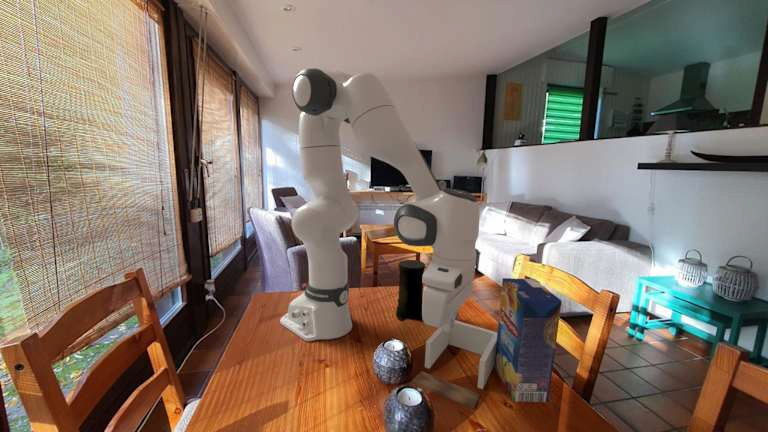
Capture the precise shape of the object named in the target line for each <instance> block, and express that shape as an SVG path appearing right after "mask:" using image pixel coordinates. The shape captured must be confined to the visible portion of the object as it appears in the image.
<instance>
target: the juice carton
mask: <svg viewBox="0 0 768 432" xmlns="http://www.w3.org/2000/svg"><path fill="white" fill-rule="evenodd" d="M499 302H500V304H499V313H498V324H497V331H496V332H497V342H496V352H495V362H494V367H493V368H494V369H495V371H496V373H497V374H498V376H499V378H500V380H501V382H502V384H503V386H504V387H505V389H506V392H507V393H508V395H509V397H510V398H511V400H512V402H517V403H518V402H522V403H530V402H531V403H549V399H550V391H551V383H552V376H553V367H554V362H555V354H556V353H555V352H556V347H557V340H558V339H557V338H558V333H559V332H558V330H559V323H560V316H561V309H562V308H561V307H562V302H563V301H562V300H561V299H560V298H559V297H558V296H556V295H555V294H554V293H552V292H551V291H550V290H549V289H548V288H547V287H546V286H544V285H542V283H540V282H539V281H538V280H537V279H535V278H508V277H502V283H501V291H500V301H499Z"/></svg>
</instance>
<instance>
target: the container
mask: <svg viewBox="0 0 768 432" xmlns="http://www.w3.org/2000/svg"><path fill="white" fill-rule="evenodd" d="M398 267H399V268H398V270H399V274H398V278H399V281H398V282H399V283H398V299H397V307H396V313H395V316H396V318H397V320H398V321H401V322H404V321H406V320H416V321H419V322H420V321H423V318H422V303H423V291H424V284H423V283H422V277H423V274H424V272H425V268H426V264H425V262H424V261H420V260H418V259H417V260H416V259H404V260H400V261H399V262H398Z"/></svg>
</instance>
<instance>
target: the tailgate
mask: <svg viewBox="0 0 768 432" xmlns="http://www.w3.org/2000/svg"><path fill="white" fill-rule="evenodd" d="M411 383H412V384H415V385H416V386H419V387H422V388H424V389H425V390H428V391H431V392H432V393H436V394H438V395H440V396H442V397H445V398H447V399H449V400H452V401H454V402H458V403H459V404H462V405H465V406H467V407H469V408H471V409H475V407H476V404H477V402H478V400H479V398H480V396H481V393H478V392H477V391H476V392H475V391H472V390H470V389H468V388H465V387H462V386H460V385H458V384H455V383H452V382H449V381H447V380H445V379H443V378H440V377H437V376H434V375H432V374H429V373H427V372H424V371H422V370H421V371H420V372H419V373H418V374H416V376H415V377H414V378H412V380H411Z"/></svg>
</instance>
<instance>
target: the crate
mask: <svg viewBox="0 0 768 432" xmlns="http://www.w3.org/2000/svg"><path fill="white" fill-rule="evenodd" d="M497 332H498V331H493V330H489V329H486V328H483V327H480V326H476V325H473V324H469V323H466V322H462V321H459V320H457V321H456V320H455V324H454V326H453V327H452V328H451V330H450V331H449V332H447V331H444V330H443V329H442V327H441V328H436V330H435V331H434V332H433V333H432V334H431V335H430V337H428V339H427V340H426V341H425V356H424V368H426V369H428V370H429V369H430V368H431V367H433V364H435V362H436V361H437V360H438V358H439V357H440V356H441V355H442V353H443V352H444V351H445V350H446V348H447V347H448V345H449V346H454V347H457V348H459V349H461V350H462V349H463V350H466V351H468V352H471V353H474V354H478V355H480V356H481V357H480V359H479V365H478V374H477V376H478V377H477V378H478V379H477V388H478V389H481V390H483V389H485V385H486V383H487V382H488V379H489V377H490V375H491V373H492V371H493V369H494V368H495V367H494V362H495V352H496V342H497Z"/></svg>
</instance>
